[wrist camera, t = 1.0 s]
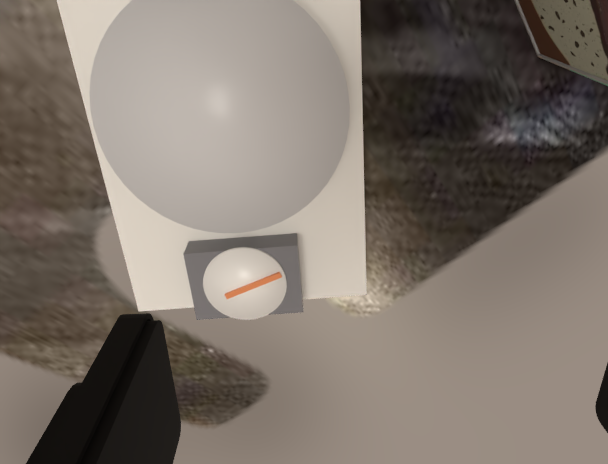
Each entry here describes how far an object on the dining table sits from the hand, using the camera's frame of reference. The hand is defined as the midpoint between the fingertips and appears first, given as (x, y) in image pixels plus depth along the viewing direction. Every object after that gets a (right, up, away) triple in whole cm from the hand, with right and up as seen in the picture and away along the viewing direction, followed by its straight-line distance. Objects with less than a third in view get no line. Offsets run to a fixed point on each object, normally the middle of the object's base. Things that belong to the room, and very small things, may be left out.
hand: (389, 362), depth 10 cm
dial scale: (-7, +9, +26) cm, 28 cm away
